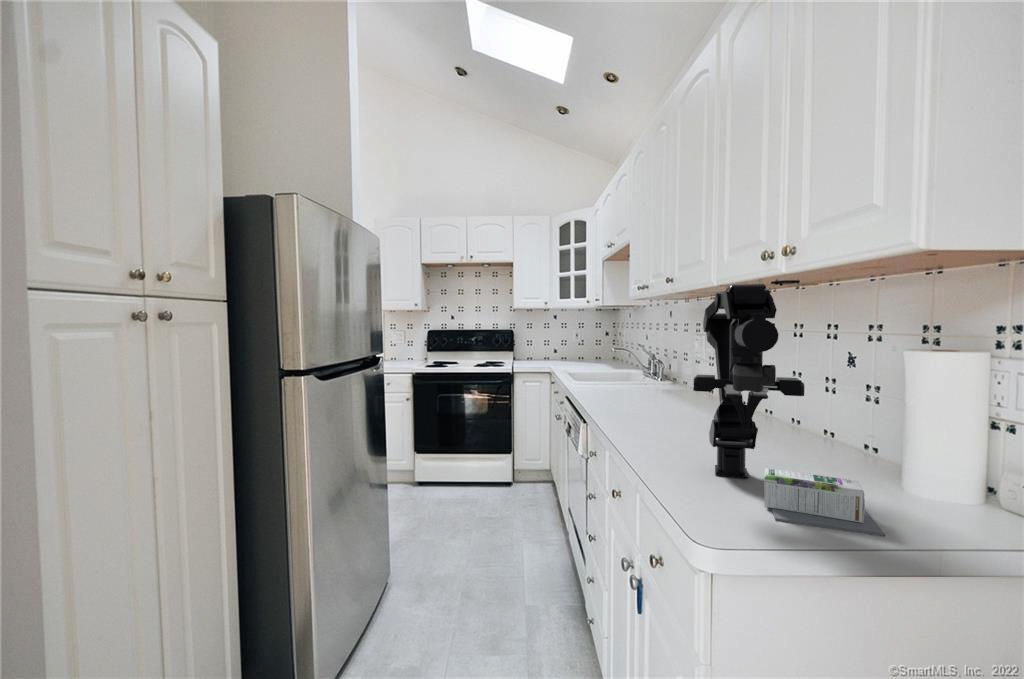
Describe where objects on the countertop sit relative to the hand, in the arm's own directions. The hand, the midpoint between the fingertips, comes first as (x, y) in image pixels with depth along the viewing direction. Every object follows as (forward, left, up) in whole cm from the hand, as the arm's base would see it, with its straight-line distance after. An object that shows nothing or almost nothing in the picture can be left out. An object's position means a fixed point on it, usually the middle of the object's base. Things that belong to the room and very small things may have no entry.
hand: (745, 428), depth 88 cm
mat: (+3, +11, -13) cm, 18 cm away
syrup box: (+4, +3, -10) cm, 11 cm away
